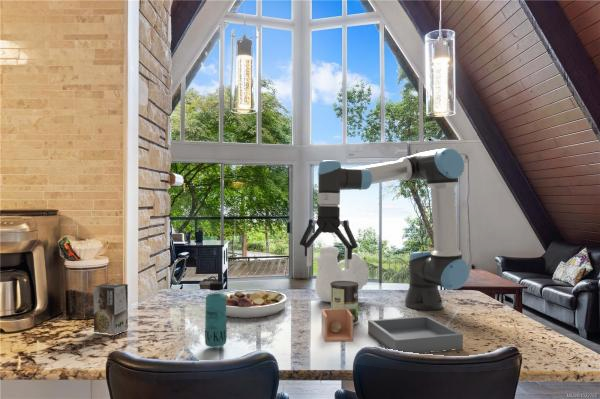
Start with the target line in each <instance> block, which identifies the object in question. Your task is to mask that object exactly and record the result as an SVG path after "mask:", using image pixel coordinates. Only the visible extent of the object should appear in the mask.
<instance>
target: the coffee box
mask: <svg viewBox="0 0 600 399" xmlns="http://www.w3.org/2000/svg"><path fill="white" fill-rule="evenodd" d="M128 286H129V284H128V283H116V282H115V283H114V282H105V283H101V284H98V285H95V286H93V290H92V291H93V333H94V332H99V333H108V334H114V335H115V334H117V333H120V332H122V331H125V330H127V329H128V330H129V323H128V321H129V318H128V317H129V311H128V310H129V308H128V307H129V304H128V303H129V302H128V301H129V300H128V297H129V296H128V295H129V294H128V293H129V289H128Z"/></svg>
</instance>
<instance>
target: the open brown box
mask: <svg viewBox="0 0 600 399" xmlns="http://www.w3.org/2000/svg"><path fill="white" fill-rule="evenodd" d="M333 322H339V323H340V324H341V331H340V332H338V333H334V332H332V330H331V324H332V323H333ZM321 335H322V337H323V340H324V342H353V341H354V325H353V315H352V314H351V312H350V311H349V309H331V308H321Z"/></svg>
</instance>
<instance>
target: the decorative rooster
mask: <svg viewBox="0 0 600 399" xmlns="http://www.w3.org/2000/svg"><path fill="white" fill-rule="evenodd" d="M339 253H340V250H339V247H337V246H333V245H326V246H321V247H320V248H319V255H317V256H316V257H314V260H315V261H316V262H317V264H316V266H317V268H316V272H317V275H316V279H315V284H314V290H315V293H316V295H317V297H318V298H319V300H321V301H322V302H326V303H331V285H330V283H331V282H334V281H353V282H357V283H358V291H360V290H362V289H363V287H364V286H366V285H367V284H368V281H369V277H370V269H369V267H368V265H367V262H366V261H365V260H364V258H362V257H360V255H359V254H358V253H356V252H352V259H350V260H349V269H347V270H345V266H344V267H341V265H342V264H344V265H345V259H343V260H340V261H339V260H338V255H339Z"/></svg>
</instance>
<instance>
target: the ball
mask: <svg viewBox="0 0 600 399" xmlns="http://www.w3.org/2000/svg"><path fill="white" fill-rule="evenodd" d="M331 330H332V332H334V333H338V332H340V331H341V324H340V323H339V322H333V323H332V324H331Z"/></svg>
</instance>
